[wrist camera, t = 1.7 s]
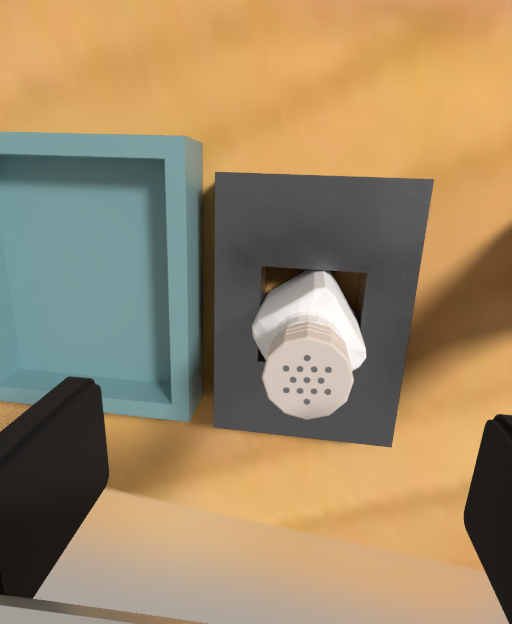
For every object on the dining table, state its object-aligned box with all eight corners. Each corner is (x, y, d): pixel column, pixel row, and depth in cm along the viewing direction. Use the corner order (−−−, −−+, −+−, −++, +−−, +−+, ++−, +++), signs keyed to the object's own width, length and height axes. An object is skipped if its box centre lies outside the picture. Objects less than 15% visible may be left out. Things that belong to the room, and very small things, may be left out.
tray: (202, 143, 21) (185, 136, 19) (203, 396, 26) (189, 422, 23) (-21, 137, 23) (-69, 130, 20) (16, 377, 27) (-19, 399, 25)
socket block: (420, 180, 20) (433, 179, 18) (384, 422, 25) (391, 447, 22) (226, 173, 22) (215, 171, 19) (223, 405, 26) (213, 427, 23)
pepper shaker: (297, 349, 24) (286, 446, 15) (262, 293, 23) (229, 358, 14) (358, 318, 23) (386, 402, 14) (323, 258, 22) (329, 305, 13)
